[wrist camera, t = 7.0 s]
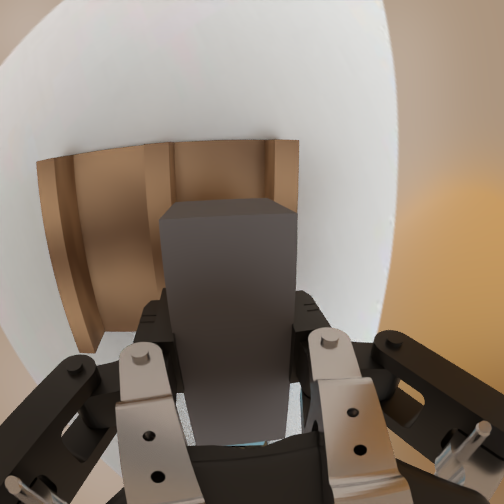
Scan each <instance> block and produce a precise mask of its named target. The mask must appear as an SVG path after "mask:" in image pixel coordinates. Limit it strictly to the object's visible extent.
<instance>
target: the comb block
mask: <svg viewBox="0 0 504 504" xmlns="http://www.w3.org/2000/svg"><path fill="white" fill-rule="evenodd" d="M36 163H37V176H38V186H39V195H40V203H41V210H42V216H43V223H44V228H45V234H46V239H47V244H48V249H49V254H50V258H51V262H52V267H53V271H54V275H55V279H56V282H57V286H58V290H59V293H60V297H61V300H62V303H63V307H64V310H65V313H66V316H67V319H68V322H69V325H70V328H71V331H72V334H73V336H74V339H75V342H76V344H77V347H78V350H79V352H80V353H96V351H97V348H98V346H99V344H100V341H101V339H102V337H103V334H104V332H105V331H110V332H133V331H137V328H138V324H139V321H140V318H141V315H142V311H143V308H144V307H145V306H146V305H147V304H148V303H149V302H150V301H151V300H160V297H161V293H162V289H163V288H166V286H165V278H164V270H163V261H162V251H161V241H160V230H159V219H160V218H161V217H162V216H163V215H164V214H165V212H166V211H167V210H168V209H169V208H170V207H171V206H172V205H173V204H174V203H175V202H185V201H203V200H223V199H248V198H269V199H271V200H273V201H275V202H276V203H278V204H280V205H282V206H284V207H286V208H288V209H290V210H292V211H294V212H296V213H297V204H298V173H299V140H277V139H274V140H214V141H192V142H176V143H173V142H165V143H154V144H144V145H141V146H132V147H123V148H115V149H108V150H101V151H94V152H88V153H82V154H76V155H70V156H63V157H57V158H51V159H46V160H42V161H37V162H36Z"/></svg>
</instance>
